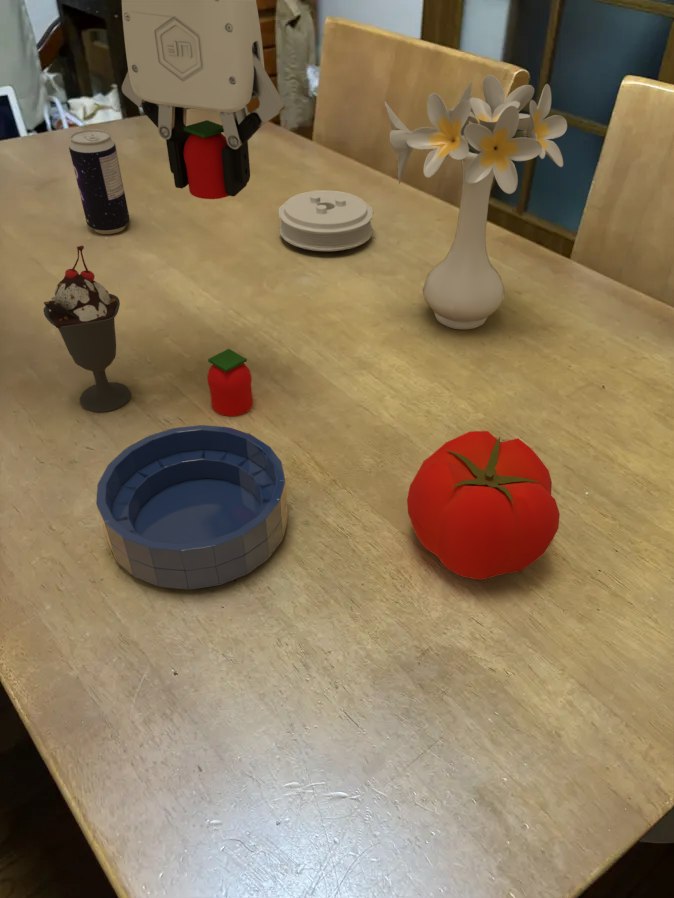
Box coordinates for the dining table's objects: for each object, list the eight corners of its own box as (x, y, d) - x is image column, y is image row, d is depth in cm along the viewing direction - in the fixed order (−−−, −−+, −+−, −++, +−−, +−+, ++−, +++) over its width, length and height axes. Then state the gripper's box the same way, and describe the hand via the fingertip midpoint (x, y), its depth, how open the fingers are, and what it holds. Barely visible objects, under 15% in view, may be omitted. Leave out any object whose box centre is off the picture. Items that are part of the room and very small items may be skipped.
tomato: (426, 485, 67) (435, 403, 61) (560, 523, 64) (583, 440, 58) (383, 569, 60) (389, 485, 53) (532, 616, 57) (557, 533, 50)
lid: (391, 238, 103) (392, 202, 100) (325, 267, 97) (324, 229, 93) (327, 210, 110) (326, 175, 106) (260, 236, 103) (258, 199, 99)
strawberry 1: (178, 190, 66) (169, 126, 63) (214, 177, 69) (208, 115, 65) (209, 204, 64) (202, 139, 61) (246, 190, 67) (241, 127, 63)
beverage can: (119, 215, 106) (101, 125, 98) (138, 229, 103) (121, 137, 95) (81, 225, 104) (59, 133, 95) (99, 240, 100) (78, 146, 92)
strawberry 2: (202, 404, 75) (195, 359, 71) (234, 386, 77) (229, 342, 73) (230, 422, 73) (224, 376, 69) (262, 403, 75) (258, 358, 71)
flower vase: (368, 297, 91) (375, 67, 74) (512, 287, 94) (551, 64, 77) (390, 355, 82) (404, 108, 65) (549, 342, 85) (603, 102, 68)
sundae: (134, 373, 78) (103, 234, 68) (144, 409, 74) (113, 266, 63) (68, 384, 76) (26, 243, 66) (74, 423, 72) (30, 278, 62)
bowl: (74, 529, 62) (59, 484, 58) (211, 448, 70) (205, 404, 66) (185, 626, 55) (175, 581, 52) (322, 524, 63) (322, 479, 60)
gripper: (49, -74, 53) (104, 188, 65) (273, -54, 50) (285, 217, 62) (106, -85, 58) (147, 160, 71) (311, -68, 55) (315, 184, 67)
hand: (211, 184), depth 66 cm, fingers closed on strawberry 1, 4 cm apart
